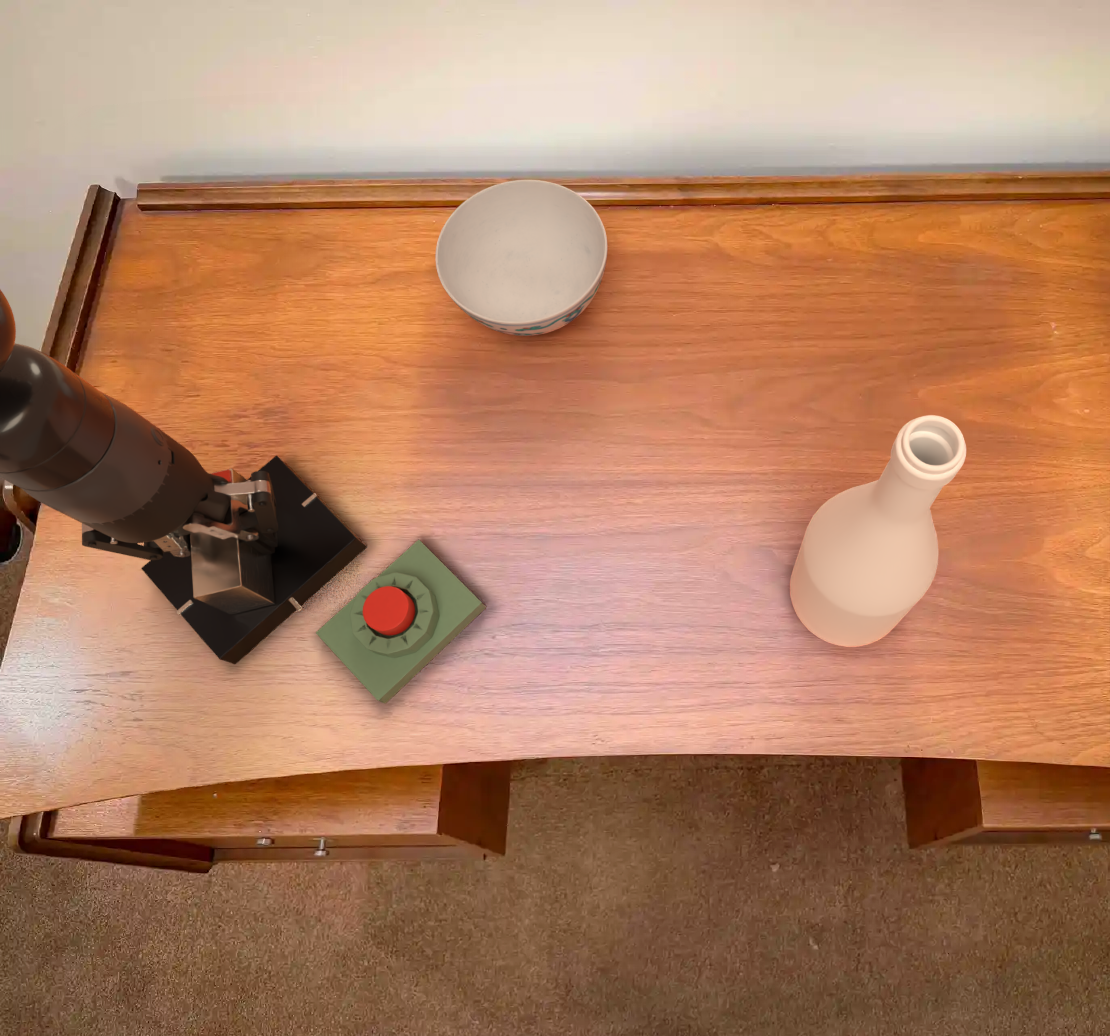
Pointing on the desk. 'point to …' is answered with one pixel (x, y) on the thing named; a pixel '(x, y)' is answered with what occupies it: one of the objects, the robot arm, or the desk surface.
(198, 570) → the silver metal block
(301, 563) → the black flat square plate
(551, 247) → the chinaware
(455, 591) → the green rectangular block
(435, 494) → the desk surface
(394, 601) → the button
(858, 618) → the beige ceramic bottle
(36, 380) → the robot arm
